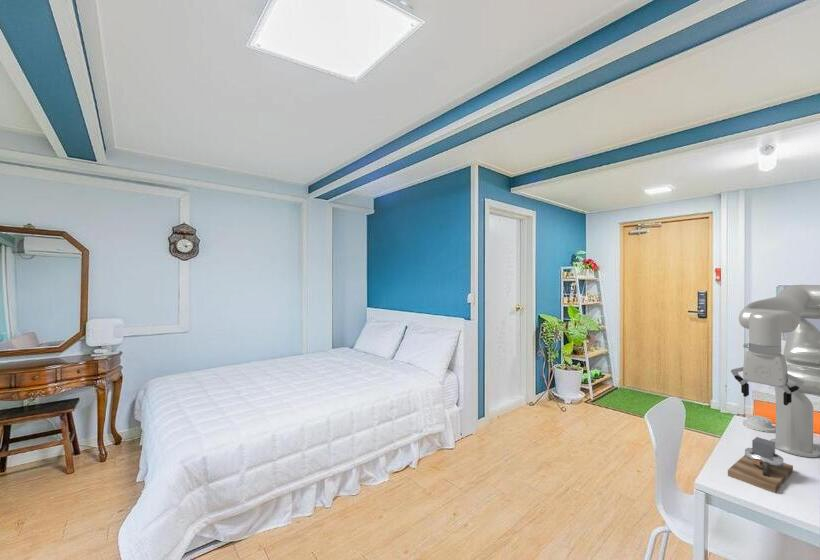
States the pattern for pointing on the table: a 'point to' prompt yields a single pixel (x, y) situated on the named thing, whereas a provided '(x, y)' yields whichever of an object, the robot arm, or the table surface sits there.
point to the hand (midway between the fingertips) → (765, 399)
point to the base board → (760, 474)
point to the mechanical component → (759, 423)
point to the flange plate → (772, 463)
